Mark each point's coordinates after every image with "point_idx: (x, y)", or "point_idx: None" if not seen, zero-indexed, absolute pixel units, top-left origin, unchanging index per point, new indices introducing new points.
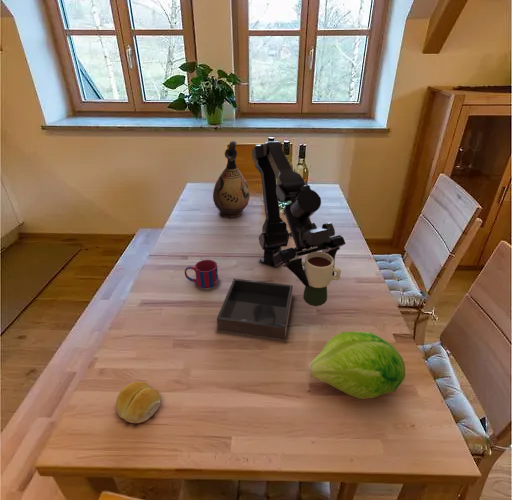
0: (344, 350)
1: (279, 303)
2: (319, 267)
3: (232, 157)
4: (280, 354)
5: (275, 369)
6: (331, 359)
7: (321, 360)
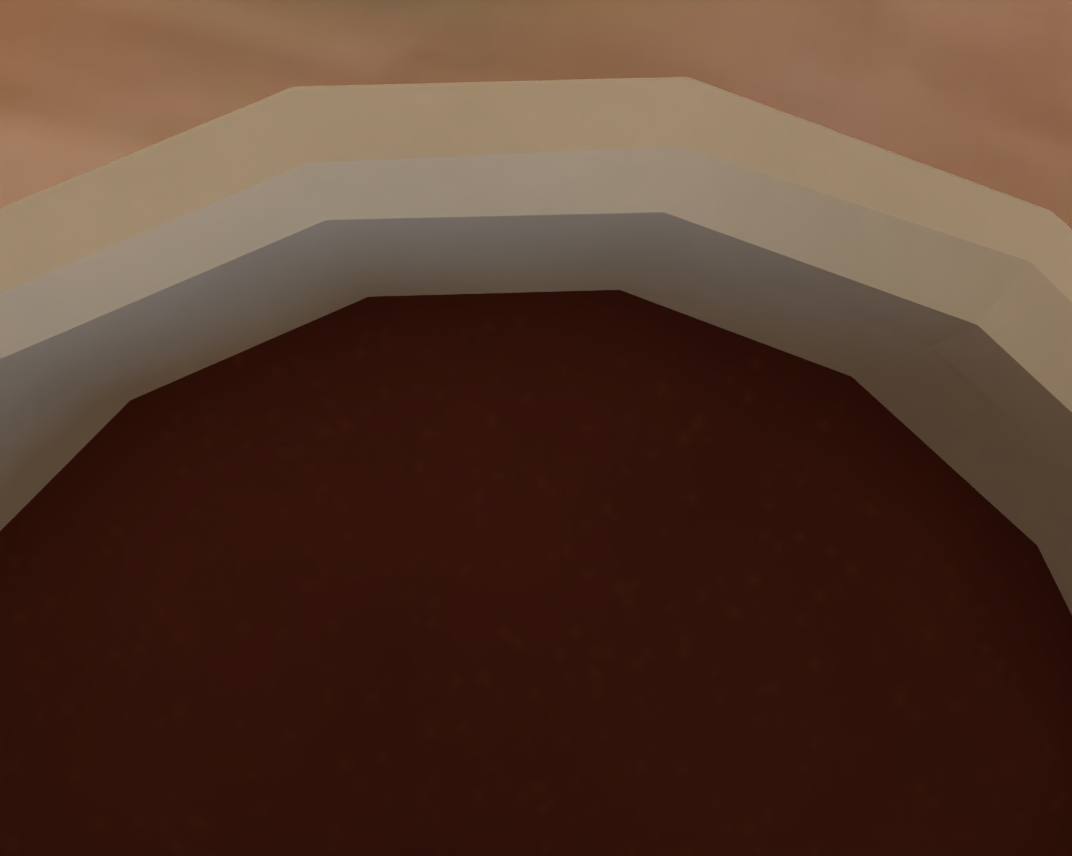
0: None
1: None
2: (891, 167)
3: None
4: (982, 176)
5: (1069, 21)
6: None
7: None
